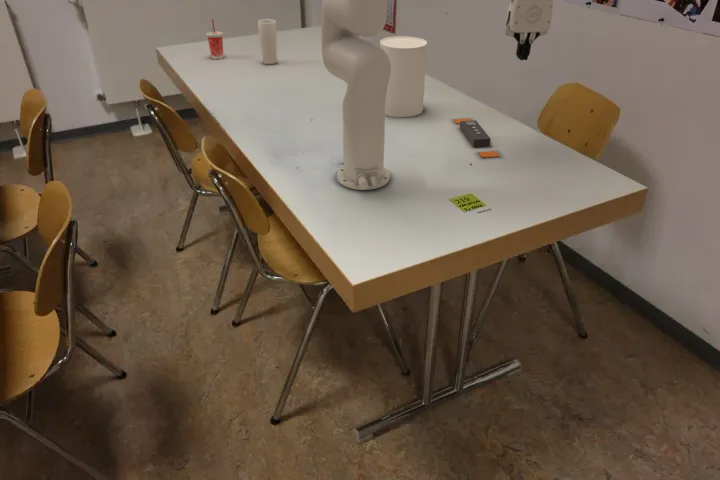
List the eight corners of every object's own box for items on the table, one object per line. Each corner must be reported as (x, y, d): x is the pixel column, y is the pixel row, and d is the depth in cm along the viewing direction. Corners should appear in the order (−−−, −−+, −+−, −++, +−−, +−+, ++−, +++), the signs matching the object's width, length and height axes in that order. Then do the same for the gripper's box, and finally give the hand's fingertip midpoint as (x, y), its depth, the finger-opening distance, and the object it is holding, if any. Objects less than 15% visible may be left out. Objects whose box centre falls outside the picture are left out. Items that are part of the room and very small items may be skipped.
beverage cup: (208, 55, 223) (203, 18, 215) (224, 54, 224) (220, 17, 217) (210, 60, 218) (204, 21, 210) (226, 58, 219) (221, 20, 212)
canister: (371, 104, 178) (372, 38, 167) (411, 99, 182) (414, 34, 171) (388, 119, 168) (391, 50, 157) (430, 113, 172) (435, 45, 161)
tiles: (499, 157, 147) (499, 155, 147) (482, 158, 146) (482, 157, 146) (469, 119, 168) (469, 118, 168) (453, 120, 168) (454, 119, 168)
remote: (489, 146, 152) (491, 137, 151) (473, 147, 152) (474, 138, 150) (475, 127, 163) (476, 119, 162) (459, 128, 163) (460, 120, 161)
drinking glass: (258, 61, 217) (254, 20, 208) (275, 59, 219) (272, 18, 211) (264, 66, 211) (260, 24, 203) (281, 64, 214) (278, 22, 206)
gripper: (509, -16, 133) (499, 64, 143) (570, -17, 135) (555, 61, 145) (498, -21, 139) (489, 55, 149) (557, -22, 141) (543, 53, 151)
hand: (522, 58), depth 147 cm, fingers closed
